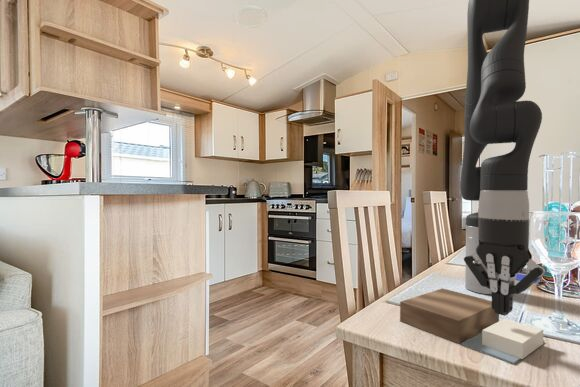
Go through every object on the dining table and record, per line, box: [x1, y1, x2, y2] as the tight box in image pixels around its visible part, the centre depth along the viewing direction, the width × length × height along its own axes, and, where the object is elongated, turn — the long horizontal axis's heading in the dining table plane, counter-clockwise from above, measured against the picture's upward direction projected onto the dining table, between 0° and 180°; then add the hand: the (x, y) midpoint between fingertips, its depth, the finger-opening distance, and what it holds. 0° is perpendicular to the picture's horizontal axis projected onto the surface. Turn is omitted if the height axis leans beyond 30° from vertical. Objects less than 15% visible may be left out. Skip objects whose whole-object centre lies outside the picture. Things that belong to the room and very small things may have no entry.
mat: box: [461, 332, 545, 365], centre depth 58 cm, size 13×8×1 cm, turn 126°
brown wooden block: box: [399, 287, 500, 344], centre depth 67 cm, size 16×12×4 cm
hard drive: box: [515, 273, 541, 286], centre depth 101 cm, size 2×8×12 cm
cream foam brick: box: [482, 318, 544, 360], centre depth 57 cm, size 9×6×2 cm, turn 126°
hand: (501, 313), depth 59 cm, fingers closed
